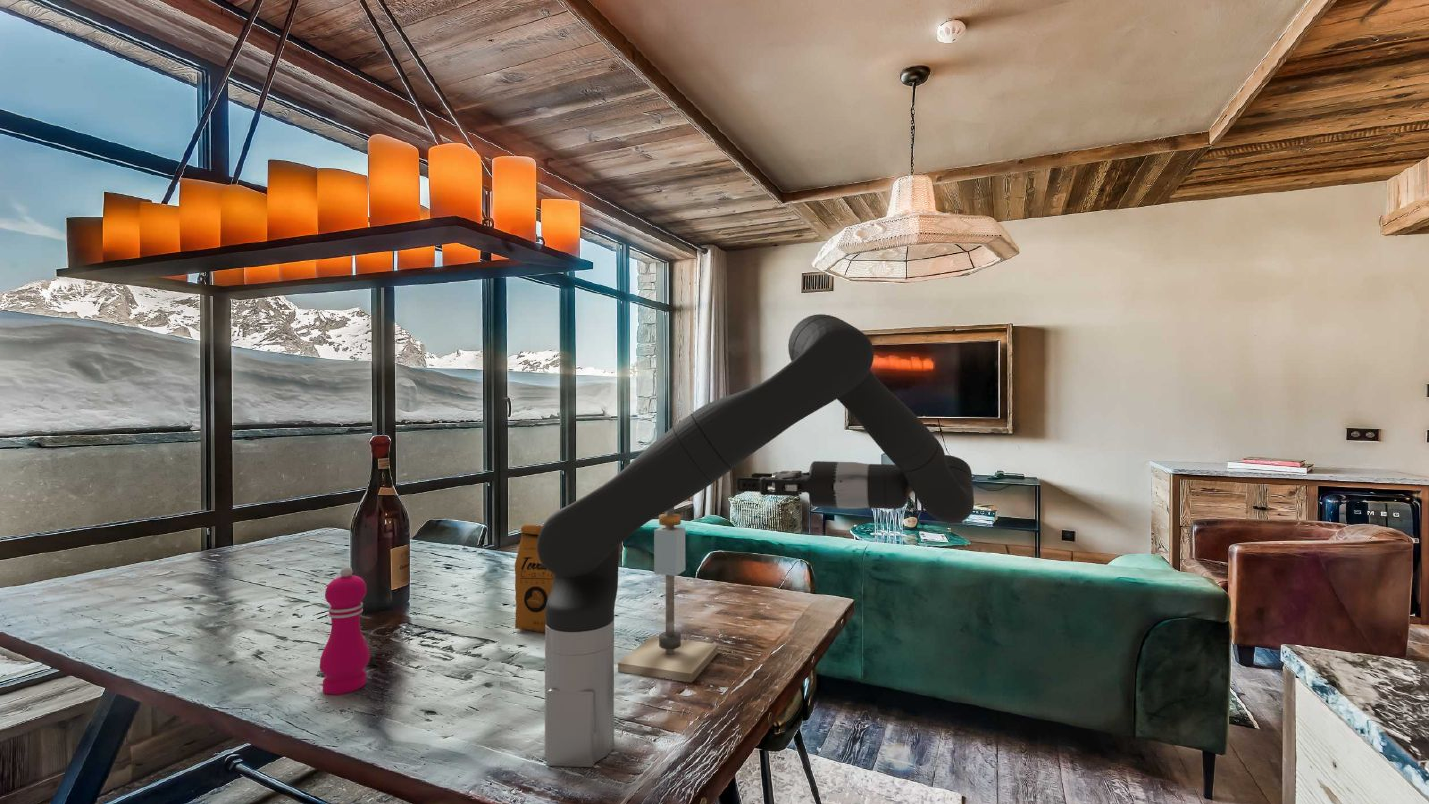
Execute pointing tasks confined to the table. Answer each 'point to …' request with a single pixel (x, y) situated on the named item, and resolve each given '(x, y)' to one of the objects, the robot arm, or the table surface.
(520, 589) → the coffee package
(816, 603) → the table surface
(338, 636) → the pepper mill
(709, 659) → the rod stand
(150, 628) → the table surface
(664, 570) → the sleeve
